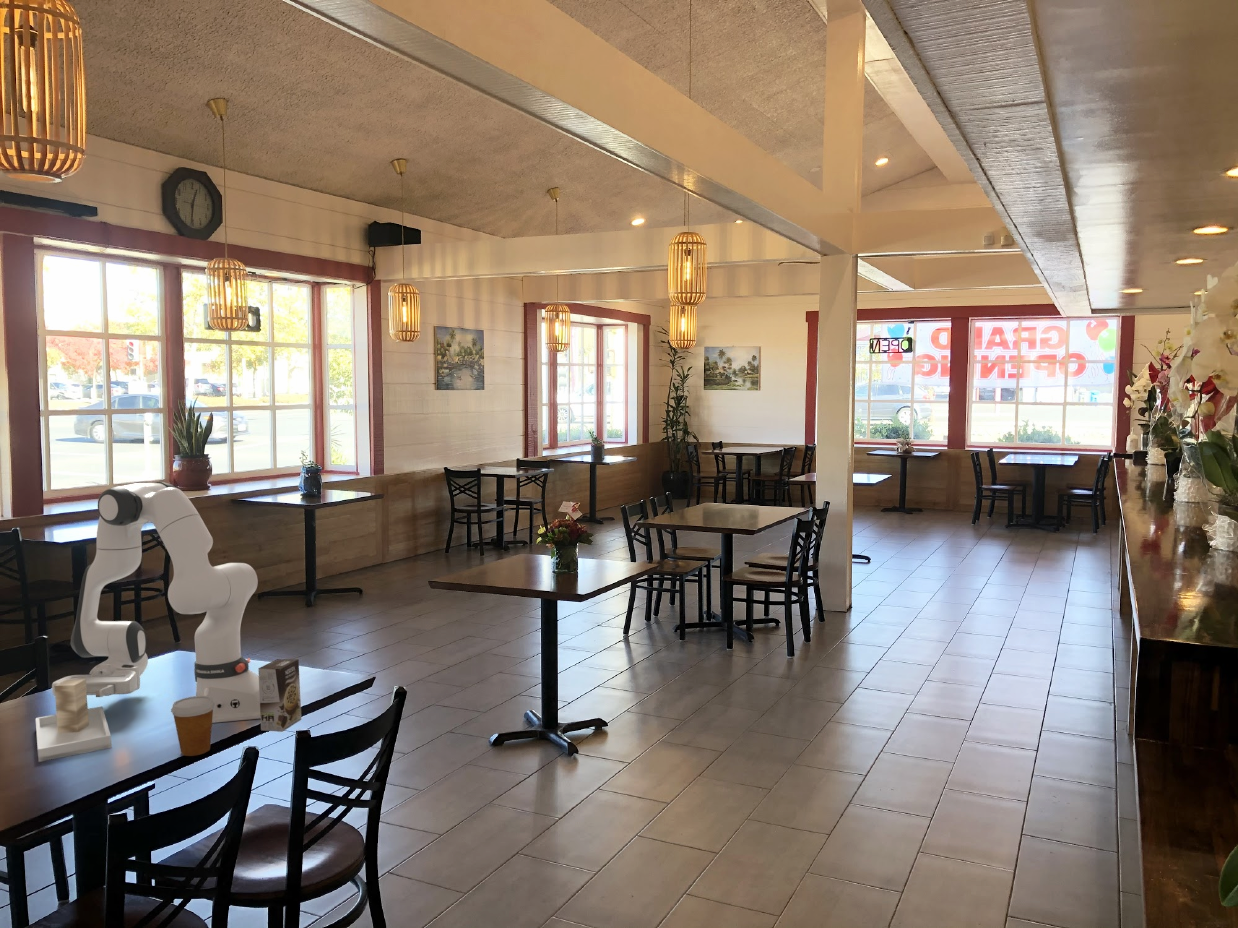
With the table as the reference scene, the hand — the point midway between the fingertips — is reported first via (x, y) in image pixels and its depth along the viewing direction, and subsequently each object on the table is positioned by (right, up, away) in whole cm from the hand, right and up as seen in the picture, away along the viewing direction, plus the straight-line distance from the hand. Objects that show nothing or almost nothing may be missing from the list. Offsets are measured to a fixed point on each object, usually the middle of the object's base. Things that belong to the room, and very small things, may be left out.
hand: (79, 694), depth 241 cm
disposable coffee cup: (+38, -9, -17) cm, 42 cm away
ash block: (0, -8, -3) cm, 8 cm away
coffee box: (+52, -8, -1) cm, 53 cm away
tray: (+2, -9, -7) cm, 12 cm away
